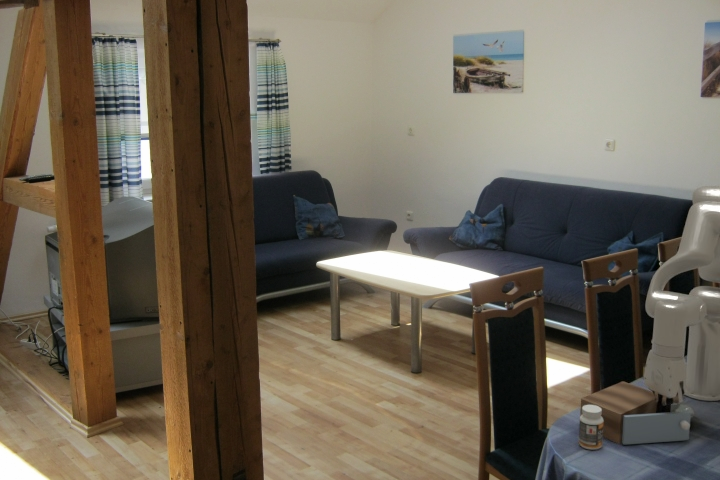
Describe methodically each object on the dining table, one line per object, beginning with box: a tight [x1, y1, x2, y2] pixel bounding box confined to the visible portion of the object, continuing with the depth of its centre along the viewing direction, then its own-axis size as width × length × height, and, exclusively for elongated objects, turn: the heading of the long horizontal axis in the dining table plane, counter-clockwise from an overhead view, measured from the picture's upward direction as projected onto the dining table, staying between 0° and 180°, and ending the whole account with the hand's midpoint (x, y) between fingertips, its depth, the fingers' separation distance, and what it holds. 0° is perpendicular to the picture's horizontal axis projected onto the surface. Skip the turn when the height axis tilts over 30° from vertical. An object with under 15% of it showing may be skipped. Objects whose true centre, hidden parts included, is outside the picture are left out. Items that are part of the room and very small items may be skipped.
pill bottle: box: [578, 405, 604, 451], centre depth 185 cm, size 6×6×10 cm
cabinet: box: [579, 380, 657, 445], centre depth 195 cm, size 18×12×8 cm, turn 125°
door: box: [621, 410, 692, 445], centre depth 184 cm, size 17×2×7 cm, turn 95°
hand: (662, 417), depth 188 cm, fingers closed
